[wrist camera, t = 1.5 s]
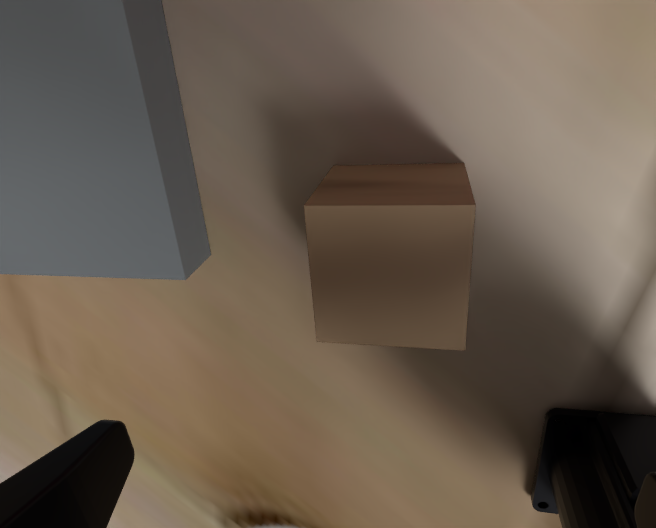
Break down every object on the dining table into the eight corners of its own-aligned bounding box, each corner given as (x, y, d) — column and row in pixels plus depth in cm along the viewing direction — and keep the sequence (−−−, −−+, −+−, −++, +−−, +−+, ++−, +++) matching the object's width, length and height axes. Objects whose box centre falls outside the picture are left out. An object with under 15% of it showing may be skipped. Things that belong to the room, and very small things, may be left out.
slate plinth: (211, 254, 21) (185, 279, 19) (11, 250, 23) (-32, 272, 21) (156, -25, 16) (114, -35, 14) (-88, 4, 19) (-157, -1, 17)
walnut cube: (457, 279, 19) (465, 350, 15) (341, 276, 21) (316, 342, 16) (463, 162, 17) (475, 205, 13) (333, 165, 18) (303, 205, 14)
